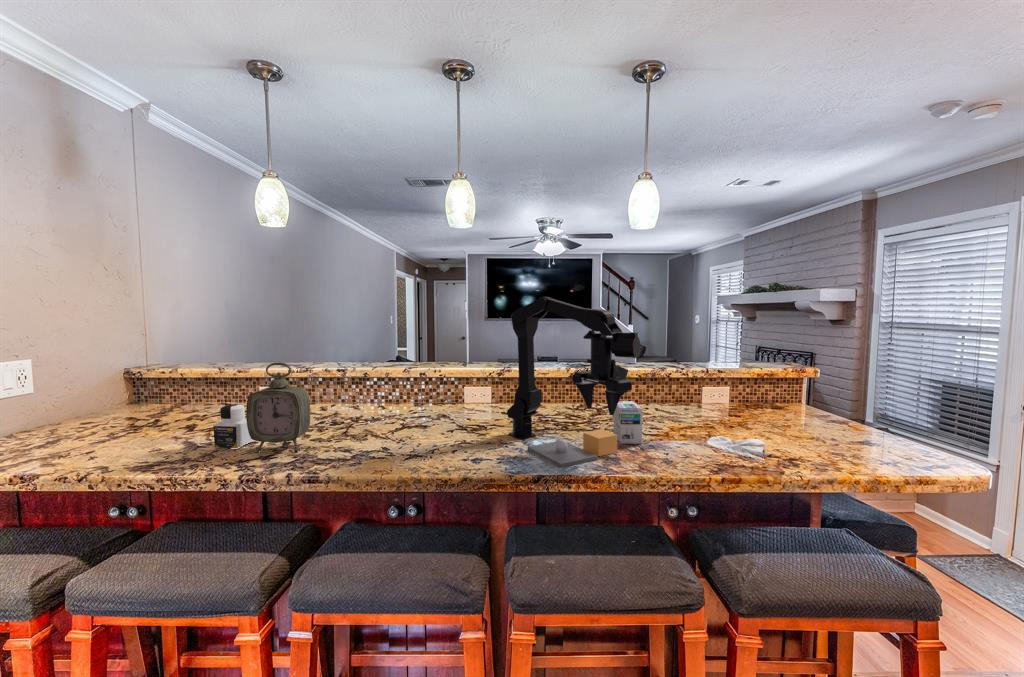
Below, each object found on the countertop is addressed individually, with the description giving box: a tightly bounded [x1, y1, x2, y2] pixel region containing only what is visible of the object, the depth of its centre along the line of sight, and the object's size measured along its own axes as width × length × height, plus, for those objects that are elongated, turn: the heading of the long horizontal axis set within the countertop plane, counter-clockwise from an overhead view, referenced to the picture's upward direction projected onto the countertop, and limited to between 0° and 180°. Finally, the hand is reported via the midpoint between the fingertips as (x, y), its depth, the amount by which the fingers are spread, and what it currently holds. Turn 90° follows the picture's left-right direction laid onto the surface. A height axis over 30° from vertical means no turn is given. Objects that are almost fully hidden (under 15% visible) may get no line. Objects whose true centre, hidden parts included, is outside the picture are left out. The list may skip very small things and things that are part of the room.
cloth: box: [706, 435, 774, 461], centre depth 130 cm, size 20×22×2 cm
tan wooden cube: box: [582, 428, 618, 457], centre depth 127 cm, size 7×7×5 cm
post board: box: [527, 438, 599, 469], centre depth 124 cm, size 16×12×4 cm
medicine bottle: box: [213, 403, 254, 449], centre depth 133 cm, size 7×7×12 cm
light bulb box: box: [613, 400, 644, 445], centre depth 139 cm, size 11×7×11 cm, turn 179°
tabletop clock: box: [245, 362, 312, 453], centre depth 129 cm, size 14×9×25 cm, turn 92°
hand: (600, 411), depth 127 cm, fingers open, 9 cm apart
